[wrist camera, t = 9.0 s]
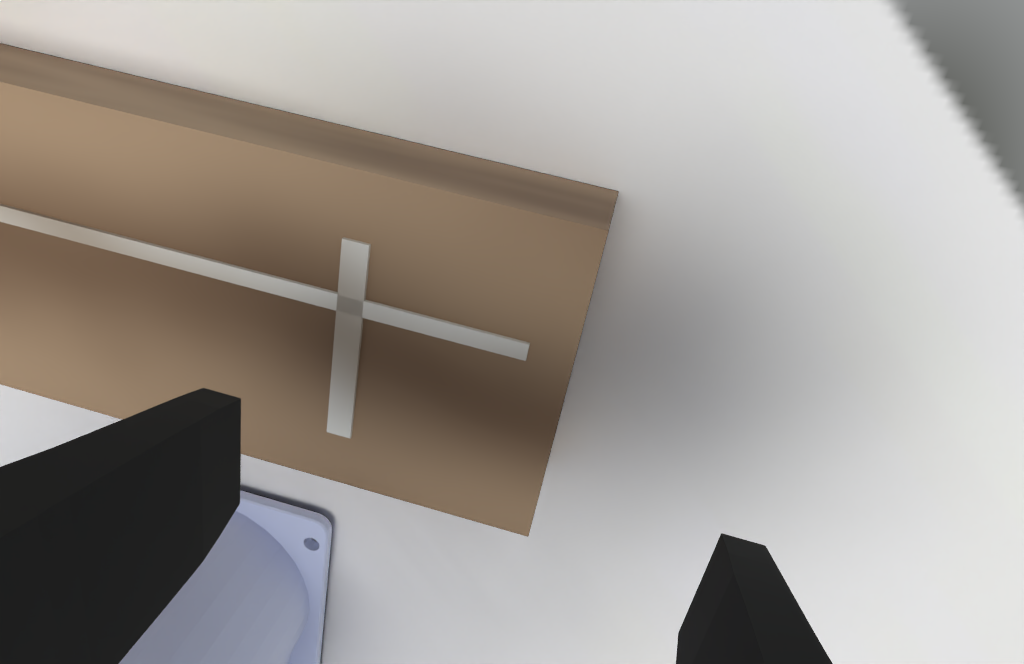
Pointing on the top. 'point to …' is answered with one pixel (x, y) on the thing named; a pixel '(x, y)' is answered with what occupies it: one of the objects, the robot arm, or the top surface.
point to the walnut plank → (293, 282)
